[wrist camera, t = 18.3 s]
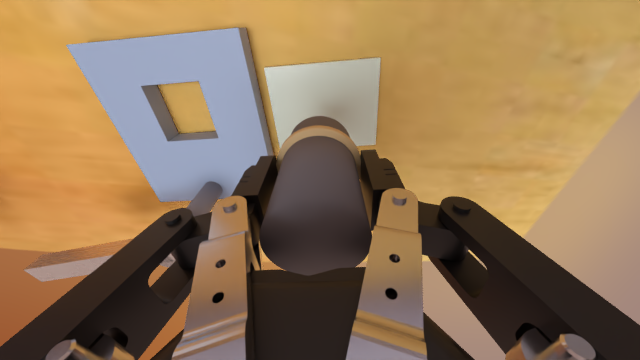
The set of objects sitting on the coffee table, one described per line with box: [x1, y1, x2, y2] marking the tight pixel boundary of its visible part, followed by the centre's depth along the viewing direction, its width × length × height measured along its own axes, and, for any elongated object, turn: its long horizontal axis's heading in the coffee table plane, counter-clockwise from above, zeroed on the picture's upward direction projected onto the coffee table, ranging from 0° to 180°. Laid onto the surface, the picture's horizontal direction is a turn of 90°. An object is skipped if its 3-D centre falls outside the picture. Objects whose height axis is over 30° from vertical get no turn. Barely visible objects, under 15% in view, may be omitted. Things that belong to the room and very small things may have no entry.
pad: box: [264, 57, 381, 149], centre depth 22 cm, size 10×8×1 cm
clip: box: [24, 239, 176, 282], centre depth 20 cm, size 4×16×2 cm, turn 104°
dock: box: [66, 28, 274, 216], centre depth 20 cm, size 14×16×9 cm
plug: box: [259, 116, 372, 275], centre depth 11 cm, size 5×5×8 cm
